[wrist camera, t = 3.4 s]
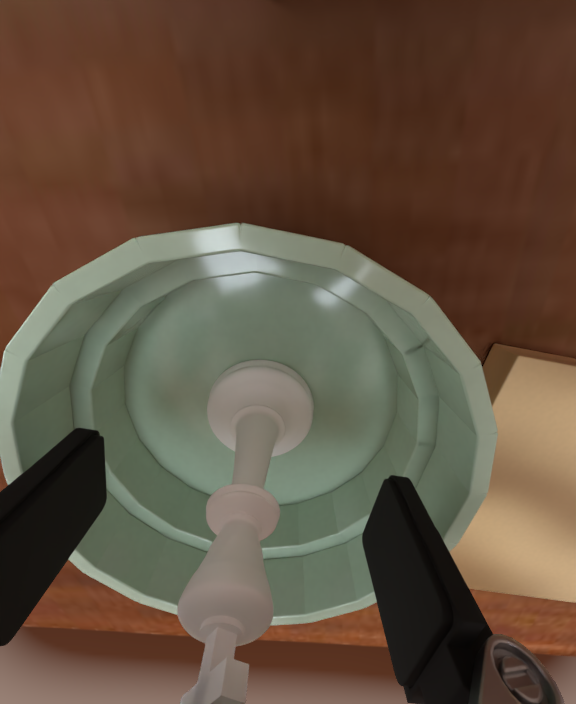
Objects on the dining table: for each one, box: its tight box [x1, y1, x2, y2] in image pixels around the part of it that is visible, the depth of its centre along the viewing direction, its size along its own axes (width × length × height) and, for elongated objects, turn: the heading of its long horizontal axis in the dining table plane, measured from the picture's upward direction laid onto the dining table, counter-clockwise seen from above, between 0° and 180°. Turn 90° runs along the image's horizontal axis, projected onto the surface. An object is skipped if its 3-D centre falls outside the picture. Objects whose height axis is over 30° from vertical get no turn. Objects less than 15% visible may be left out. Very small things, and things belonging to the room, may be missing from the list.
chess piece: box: [177, 360, 314, 704], centre depth 9 cm, size 5×5×10 cm
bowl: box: [0, 223, 498, 625], centre depth 11 cm, size 15×15×5 cm
